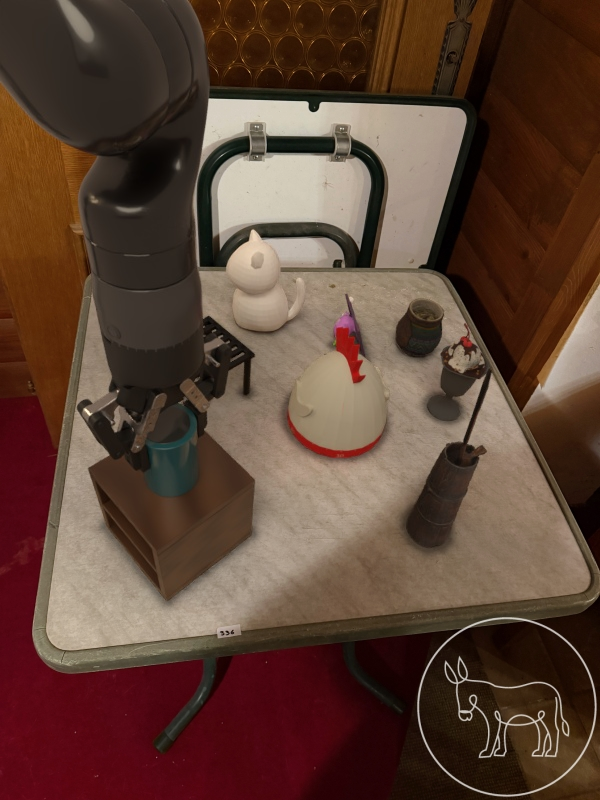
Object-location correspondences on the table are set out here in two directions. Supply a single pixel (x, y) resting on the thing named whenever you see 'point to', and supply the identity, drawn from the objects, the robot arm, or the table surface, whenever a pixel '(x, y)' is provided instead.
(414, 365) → the table surface
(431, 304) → the mate gourd
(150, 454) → the cup
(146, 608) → the table surface
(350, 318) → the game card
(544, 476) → the table surface
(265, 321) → the cat figurine
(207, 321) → the rack
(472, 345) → the sundae
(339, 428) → the kitchen timer
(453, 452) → the butter churn
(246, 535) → the shelf
